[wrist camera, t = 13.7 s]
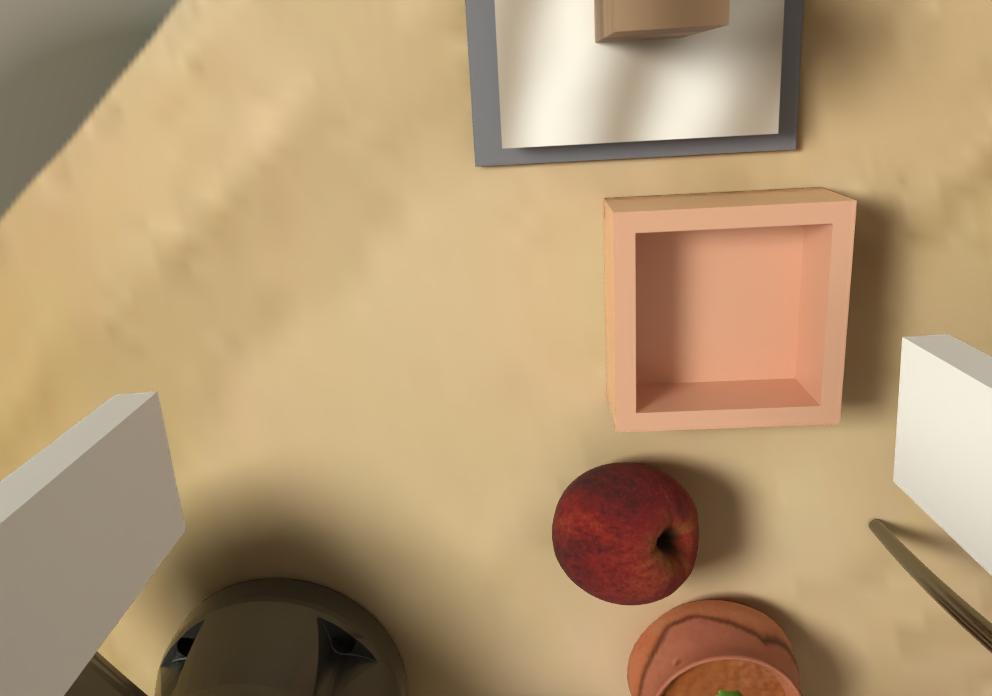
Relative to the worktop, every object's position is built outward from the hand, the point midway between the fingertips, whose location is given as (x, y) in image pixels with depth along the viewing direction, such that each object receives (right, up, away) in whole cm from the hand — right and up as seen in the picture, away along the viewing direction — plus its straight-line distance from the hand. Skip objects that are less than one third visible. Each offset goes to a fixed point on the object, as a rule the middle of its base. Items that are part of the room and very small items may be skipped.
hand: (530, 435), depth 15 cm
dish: (+11, +4, +30) cm, 32 cm away
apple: (+6, -7, +34) cm, 35 cm away
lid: (+6, +18, +25) cm, 31 cm away
